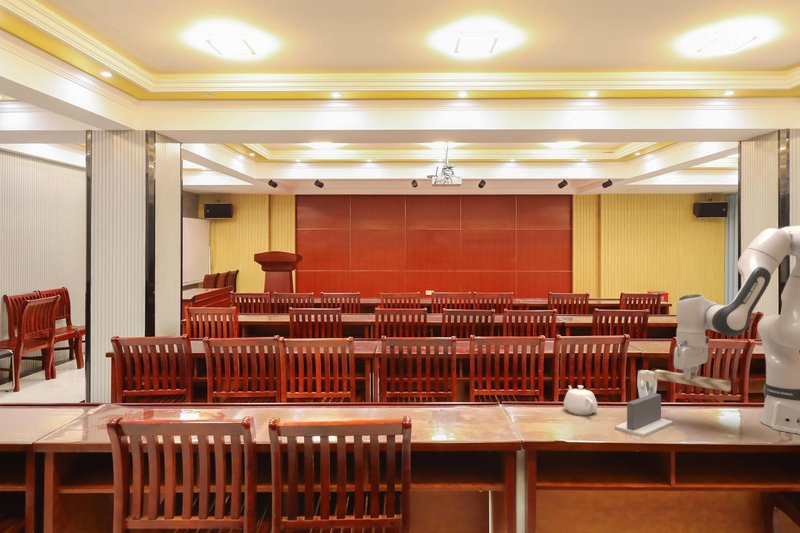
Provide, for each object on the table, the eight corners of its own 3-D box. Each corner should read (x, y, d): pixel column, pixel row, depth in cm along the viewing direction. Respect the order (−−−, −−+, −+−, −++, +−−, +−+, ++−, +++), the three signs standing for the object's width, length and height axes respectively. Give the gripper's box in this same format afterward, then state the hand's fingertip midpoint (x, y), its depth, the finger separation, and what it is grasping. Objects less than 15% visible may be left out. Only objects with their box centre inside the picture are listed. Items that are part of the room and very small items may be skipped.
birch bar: (730, 389, 168) (730, 381, 168) (727, 391, 166) (727, 382, 166) (657, 377, 186) (657, 369, 186) (654, 378, 184) (654, 370, 184)
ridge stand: (673, 424, 177) (673, 396, 177) (643, 437, 163) (643, 407, 163) (644, 417, 185) (645, 390, 185) (614, 429, 171) (615, 400, 171)
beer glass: (660, 412, 190) (660, 373, 190) (642, 412, 191) (642, 373, 191) (651, 407, 197) (651, 369, 197) (633, 407, 198) (634, 369, 197)
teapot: (554, 404, 201) (554, 379, 201) (583, 403, 202) (583, 379, 202) (576, 420, 181) (576, 392, 181) (608, 419, 182) (608, 391, 182)
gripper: (687, 344, 167) (688, 384, 167) (711, 338, 180) (711, 375, 180) (668, 342, 172) (668, 381, 172) (692, 336, 185) (693, 373, 185)
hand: (690, 378), depth 176 cm, fingers closed on birch bar, 3 cm apart
